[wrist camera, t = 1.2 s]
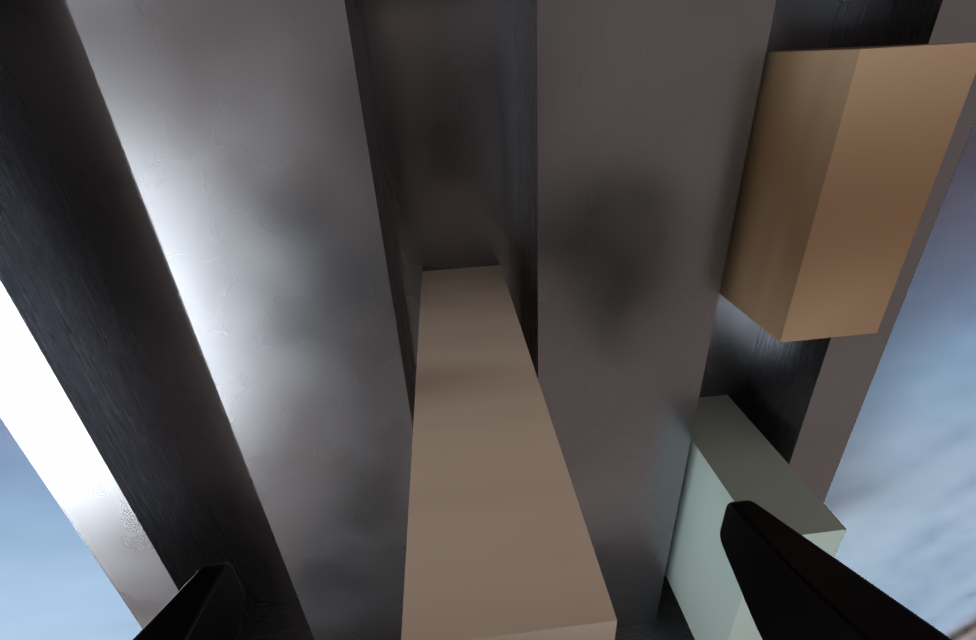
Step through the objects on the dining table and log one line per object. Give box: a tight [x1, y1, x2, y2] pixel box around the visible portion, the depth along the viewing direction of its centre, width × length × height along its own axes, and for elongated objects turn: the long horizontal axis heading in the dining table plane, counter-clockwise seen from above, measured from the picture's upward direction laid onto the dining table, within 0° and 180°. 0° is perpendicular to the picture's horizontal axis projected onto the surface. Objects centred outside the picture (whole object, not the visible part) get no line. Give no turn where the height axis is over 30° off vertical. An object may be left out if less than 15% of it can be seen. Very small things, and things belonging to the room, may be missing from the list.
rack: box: [0, 0, 976, 640], centre depth 12 cm, size 22×20×7 cm
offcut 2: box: [719, 42, 976, 342], centre depth 10 cm, size 5×2×4 cm, turn 3°
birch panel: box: [401, 265, 617, 640], centre depth 10 cm, size 6×2×9 cm, turn 3°
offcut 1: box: [665, 395, 846, 640], centre depth 14 cm, size 6×2×5 cm, turn 3°
